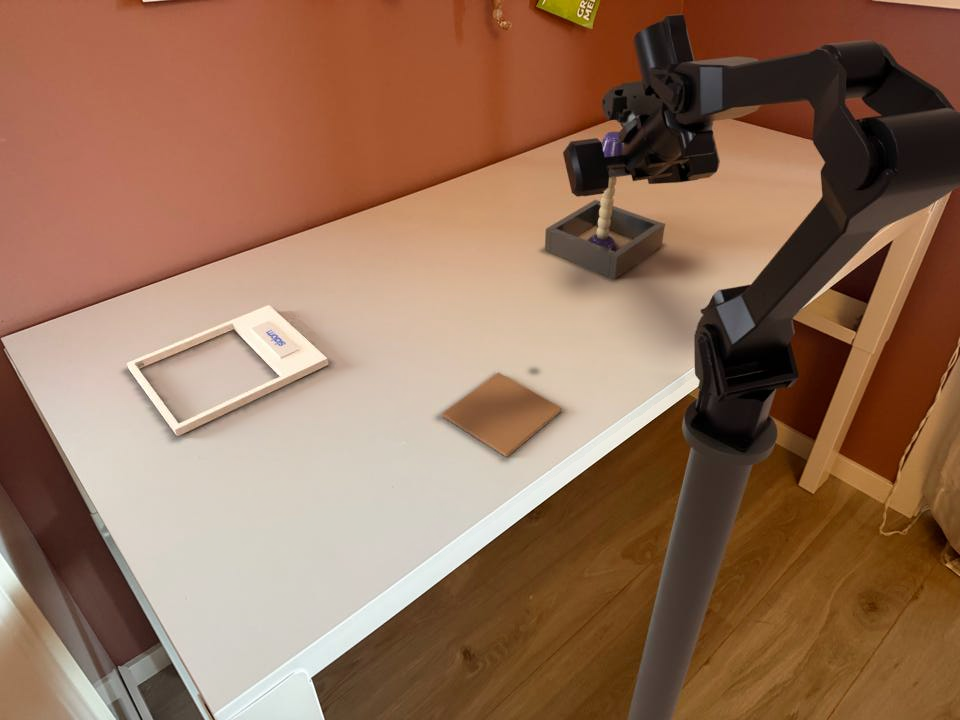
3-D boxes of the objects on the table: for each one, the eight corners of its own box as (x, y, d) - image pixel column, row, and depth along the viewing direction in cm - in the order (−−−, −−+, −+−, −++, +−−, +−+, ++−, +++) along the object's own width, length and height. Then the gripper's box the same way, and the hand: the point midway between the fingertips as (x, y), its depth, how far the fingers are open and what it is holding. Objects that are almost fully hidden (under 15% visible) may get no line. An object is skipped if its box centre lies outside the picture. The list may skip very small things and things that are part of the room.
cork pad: (561, 411, 76) (561, 407, 76) (506, 457, 71) (506, 454, 71) (498, 375, 81) (498, 372, 81) (442, 416, 76) (442, 413, 76)
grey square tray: (661, 245, 103) (665, 223, 101) (614, 279, 96) (617, 256, 94) (593, 220, 110) (595, 199, 108) (544, 250, 103) (545, 228, 101)
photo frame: (327, 357, 82) (174, 428, 74) (328, 364, 83) (177, 436, 74) (268, 303, 91) (125, 361, 82) (270, 310, 92) (129, 369, 83)
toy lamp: (602, 236, 106) (613, 125, 95) (626, 248, 103) (641, 135, 92) (580, 247, 103) (588, 134, 93) (603, 260, 100) (615, 144, 90)
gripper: (726, 57, 82) (667, 119, 97) (573, 74, 78) (537, 135, 94) (749, 149, 81) (686, 197, 96) (595, 170, 77) (555, 217, 93)
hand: (617, 184), depth 95 cm, fingers open, 9 cm apart
